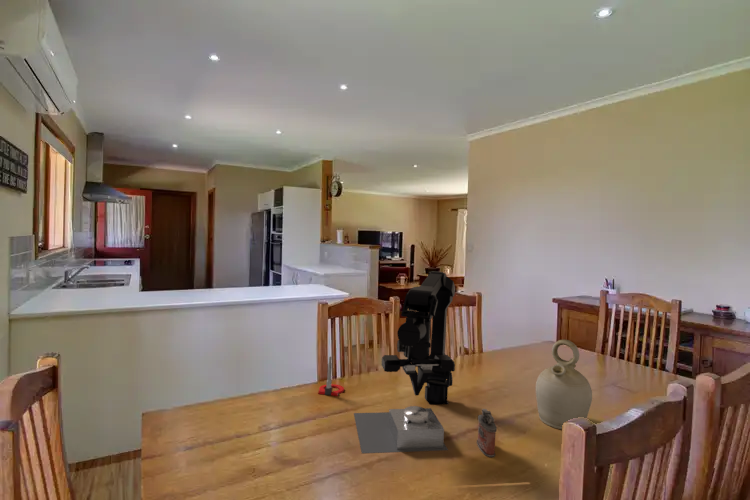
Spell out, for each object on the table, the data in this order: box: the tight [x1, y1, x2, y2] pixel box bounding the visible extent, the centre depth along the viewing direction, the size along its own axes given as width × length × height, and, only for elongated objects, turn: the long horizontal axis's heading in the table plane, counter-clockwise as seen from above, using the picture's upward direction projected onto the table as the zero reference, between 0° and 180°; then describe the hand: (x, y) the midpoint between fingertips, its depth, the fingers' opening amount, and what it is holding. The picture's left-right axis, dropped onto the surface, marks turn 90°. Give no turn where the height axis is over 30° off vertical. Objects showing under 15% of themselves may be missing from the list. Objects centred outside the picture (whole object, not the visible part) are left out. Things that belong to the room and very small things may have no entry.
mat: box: [353, 411, 449, 454], centre depth 112 cm, size 22×22×1 cm
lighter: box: [476, 408, 498, 458], centre depth 104 cm, size 8×3×10 cm, turn 5°
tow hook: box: [318, 356, 345, 397], centre depth 138 cm, size 8×13×9 cm
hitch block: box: [388, 407, 445, 450], centre depth 109 cm, size 12×12×5 cm
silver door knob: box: [403, 405, 428, 424], centre depth 109 cm, size 6×6×6 cm
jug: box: [535, 339, 593, 431], centre depth 122 cm, size 15×16×25 cm
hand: (416, 394), depth 108 cm, fingers closed
